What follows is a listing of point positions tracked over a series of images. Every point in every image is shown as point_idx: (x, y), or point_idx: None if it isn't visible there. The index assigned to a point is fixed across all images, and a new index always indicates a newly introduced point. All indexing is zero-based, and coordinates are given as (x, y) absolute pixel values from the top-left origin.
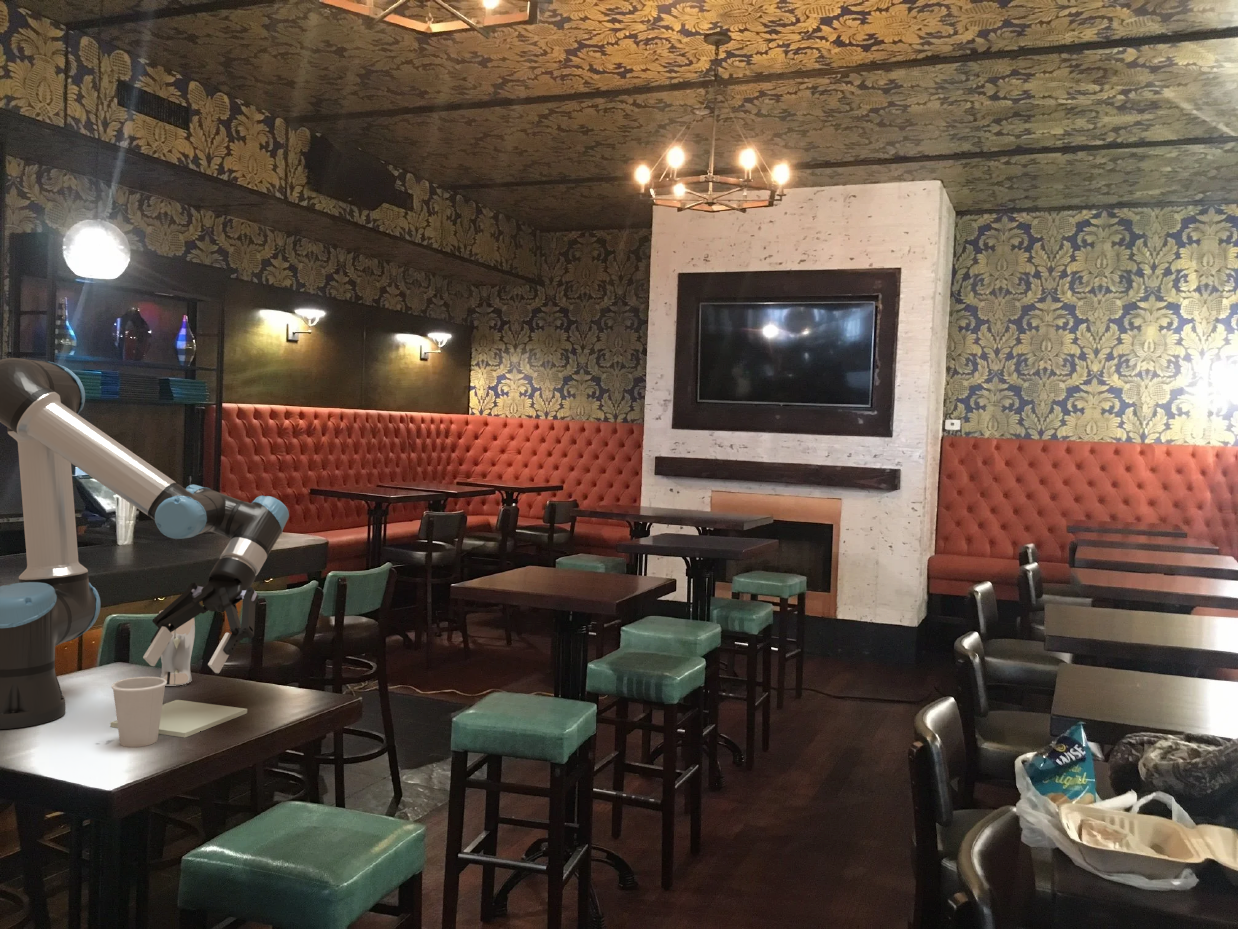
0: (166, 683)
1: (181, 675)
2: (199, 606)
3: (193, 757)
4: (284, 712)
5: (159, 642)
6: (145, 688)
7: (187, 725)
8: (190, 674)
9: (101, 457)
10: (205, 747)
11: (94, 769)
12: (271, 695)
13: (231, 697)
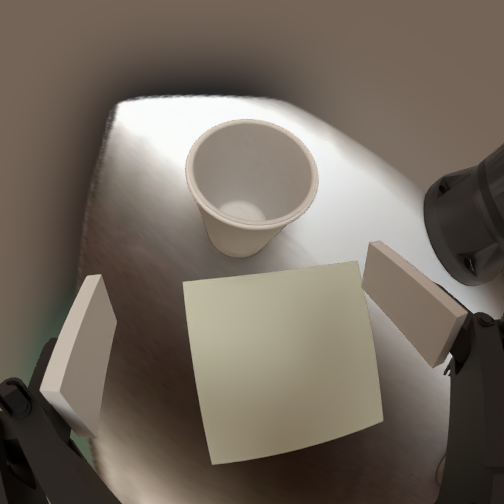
0: (199, 204)
1: None
2: (462, 501)
3: (96, 215)
4: (155, 491)
5: (409, 294)
6: (196, 141)
7: (219, 321)
8: None
9: None
10: (111, 260)
11: (188, 125)
12: None
13: (328, 501)
